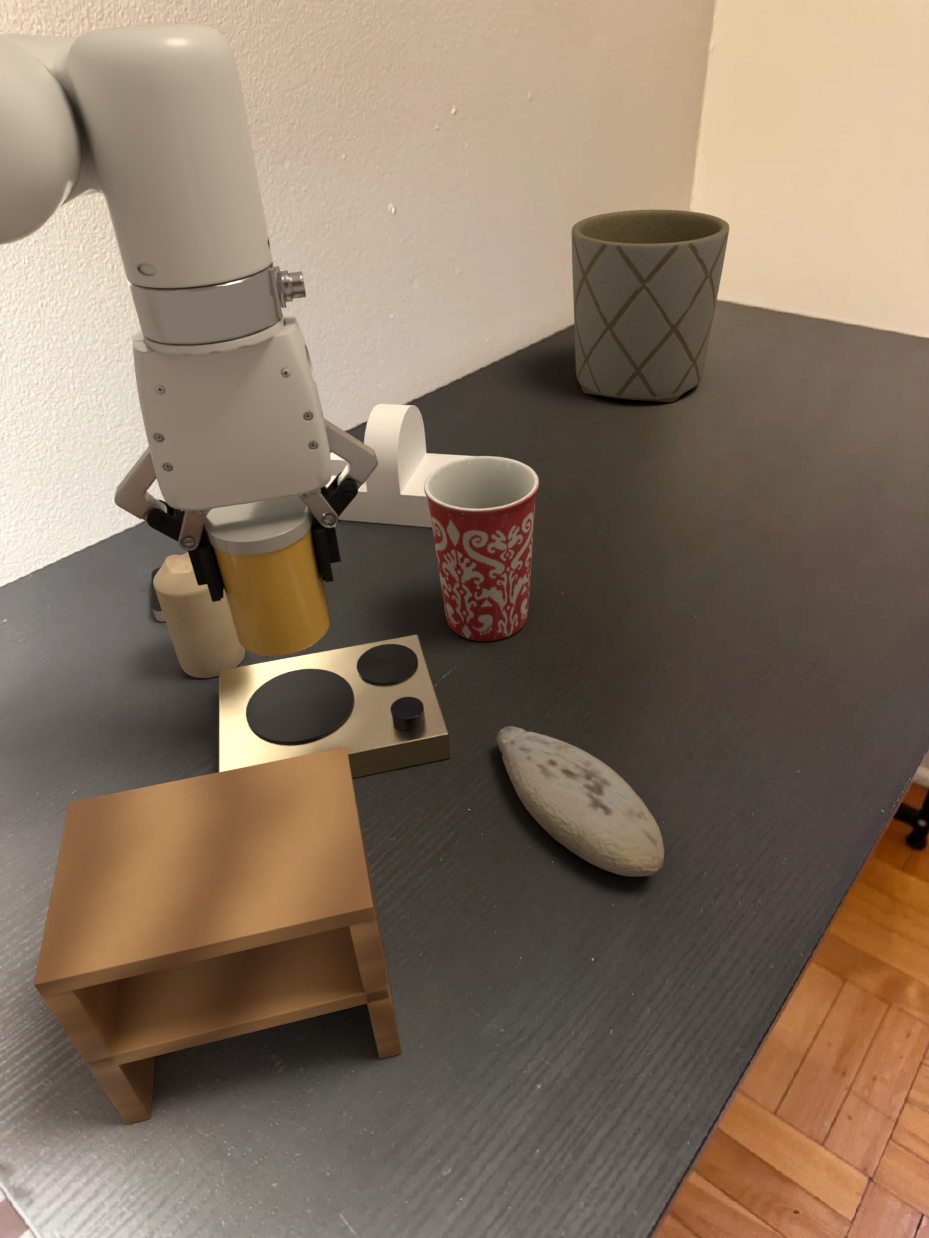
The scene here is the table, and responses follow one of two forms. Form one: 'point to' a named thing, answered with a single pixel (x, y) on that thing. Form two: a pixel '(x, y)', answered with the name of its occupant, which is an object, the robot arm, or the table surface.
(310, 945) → the shelf
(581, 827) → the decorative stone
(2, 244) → the robot arm
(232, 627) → the candle
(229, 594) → the jar
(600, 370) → the planter
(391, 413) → the u-slot stand
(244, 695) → the hob
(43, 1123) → the table surface
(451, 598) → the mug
